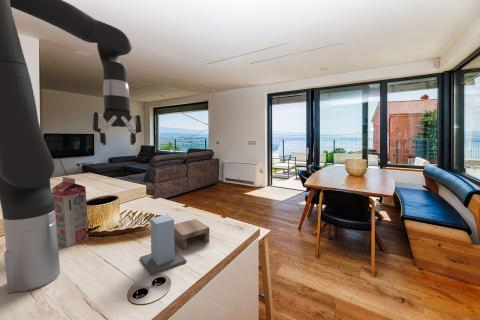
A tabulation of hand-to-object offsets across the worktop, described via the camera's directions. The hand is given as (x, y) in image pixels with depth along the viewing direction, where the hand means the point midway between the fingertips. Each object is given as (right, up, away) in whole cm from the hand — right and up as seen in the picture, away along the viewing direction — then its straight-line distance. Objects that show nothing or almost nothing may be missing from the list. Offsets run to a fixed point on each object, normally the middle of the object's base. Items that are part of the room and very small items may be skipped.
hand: (118, 144), depth 75 cm
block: (+19, -34, -10) cm, 40 cm away
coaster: (+19, -35, -10) cm, 41 cm away
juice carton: (-16, -33, +1) cm, 37 cm away
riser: (+24, -33, +3) cm, 41 cm away
